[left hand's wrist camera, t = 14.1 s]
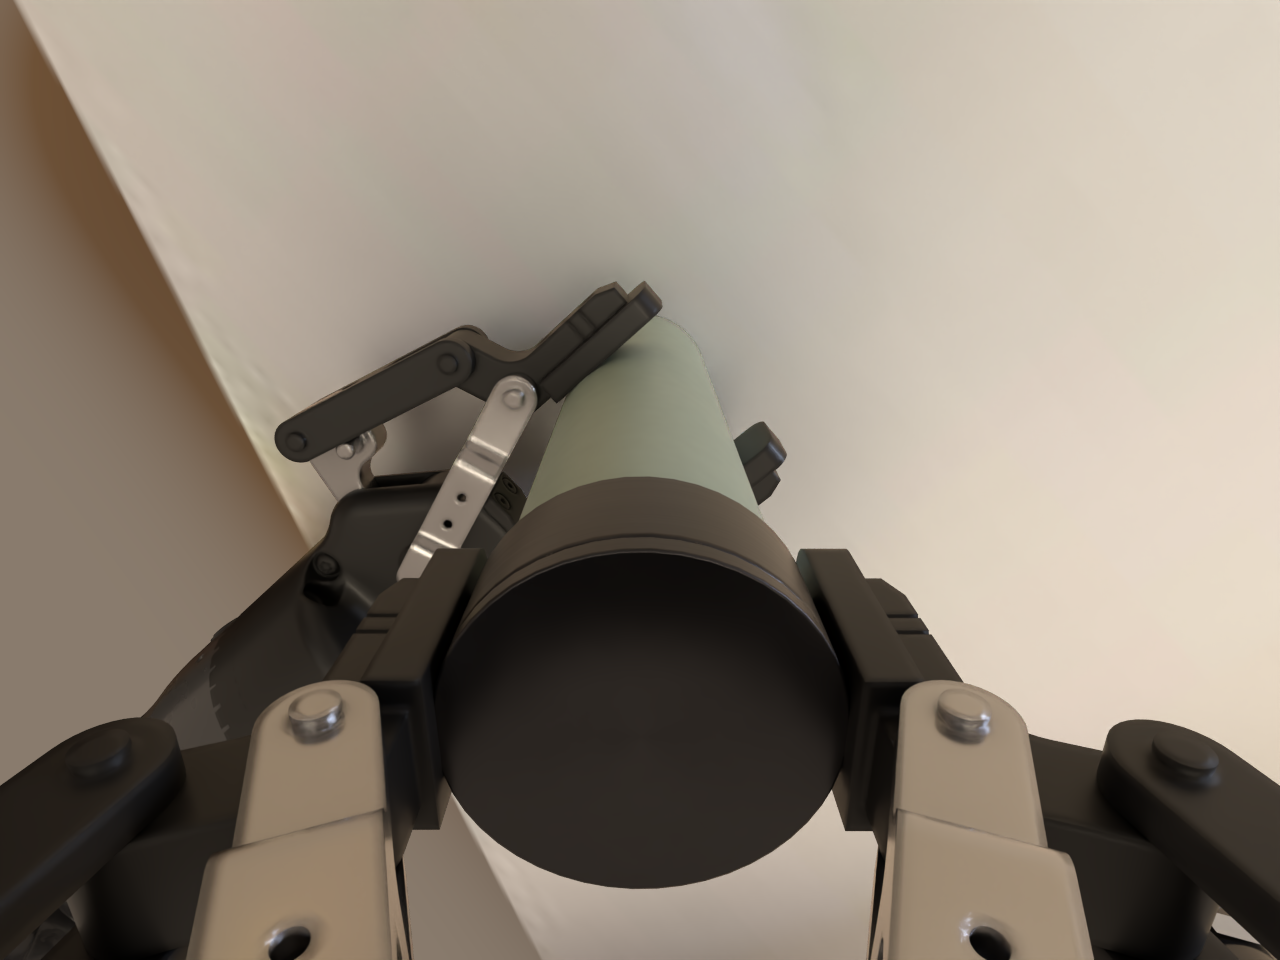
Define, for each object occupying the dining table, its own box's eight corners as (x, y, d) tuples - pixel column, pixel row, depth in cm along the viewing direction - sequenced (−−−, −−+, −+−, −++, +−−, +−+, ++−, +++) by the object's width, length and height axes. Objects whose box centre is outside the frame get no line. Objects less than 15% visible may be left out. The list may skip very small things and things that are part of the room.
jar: (568, 323, 26) (423, 569, 9) (697, 305, 26) (809, 521, 8) (589, 445, 28) (503, 854, 10) (710, 429, 27) (827, 820, 10)
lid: (425, 697, 12) (375, 815, 9) (550, 415, 10) (524, 477, 8) (713, 803, 12) (729, 935, 10) (874, 558, 11) (934, 652, 8)
